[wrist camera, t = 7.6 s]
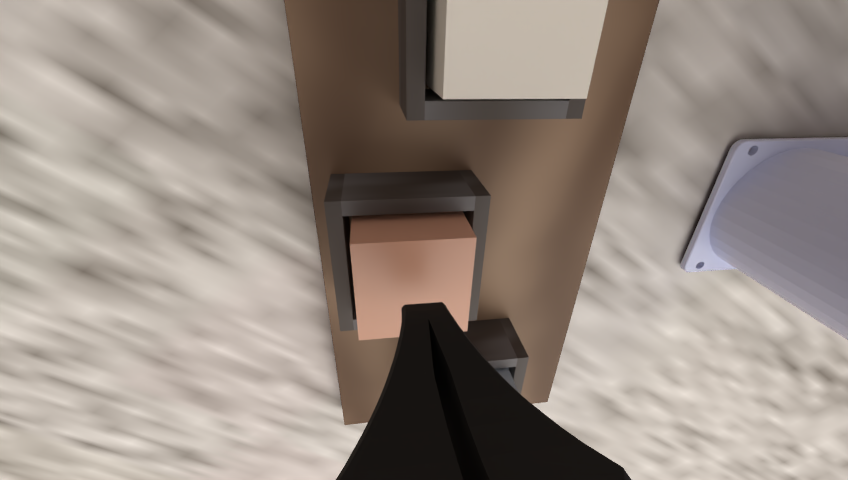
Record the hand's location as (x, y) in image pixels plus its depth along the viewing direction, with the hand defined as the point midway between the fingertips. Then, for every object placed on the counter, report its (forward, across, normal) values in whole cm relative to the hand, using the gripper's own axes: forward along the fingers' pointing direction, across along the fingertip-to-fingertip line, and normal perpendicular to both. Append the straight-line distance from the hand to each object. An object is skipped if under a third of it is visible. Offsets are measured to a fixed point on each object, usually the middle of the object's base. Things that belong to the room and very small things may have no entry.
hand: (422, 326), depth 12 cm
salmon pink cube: (+5, 0, 0) cm, 5 cm away
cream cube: (+5, -3, -9) cm, 11 cm away
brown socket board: (+8, -3, 0) cm, 8 cm away
